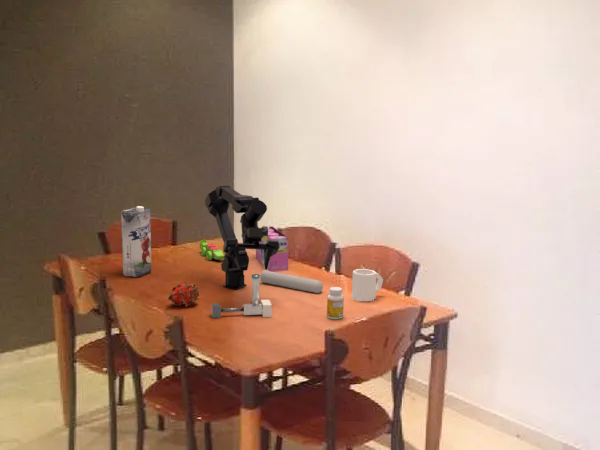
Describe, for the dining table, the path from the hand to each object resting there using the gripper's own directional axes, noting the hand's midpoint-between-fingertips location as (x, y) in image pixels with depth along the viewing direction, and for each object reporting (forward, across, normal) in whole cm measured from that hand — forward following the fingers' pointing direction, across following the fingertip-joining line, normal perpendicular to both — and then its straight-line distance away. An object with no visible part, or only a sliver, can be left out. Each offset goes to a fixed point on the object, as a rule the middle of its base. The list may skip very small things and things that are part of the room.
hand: (253, 268), depth 252 cm
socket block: (+16, +4, +2) cm, 16 cm away
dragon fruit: (+8, -21, +15) cm, 27 cm away
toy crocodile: (-35, 0, +61) cm, 71 cm away
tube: (-3, +21, +22) cm, 30 cm away
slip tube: (+15, 0, +2) cm, 16 cm away
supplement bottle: (+20, +25, -6) cm, 32 cm away
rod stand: (+16, -8, +3) cm, 18 cm away
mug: (+7, +43, +6) cm, 44 cm away
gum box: (-26, +22, +48) cm, 59 cm away
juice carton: (-20, -33, +48) cm, 62 cm away
